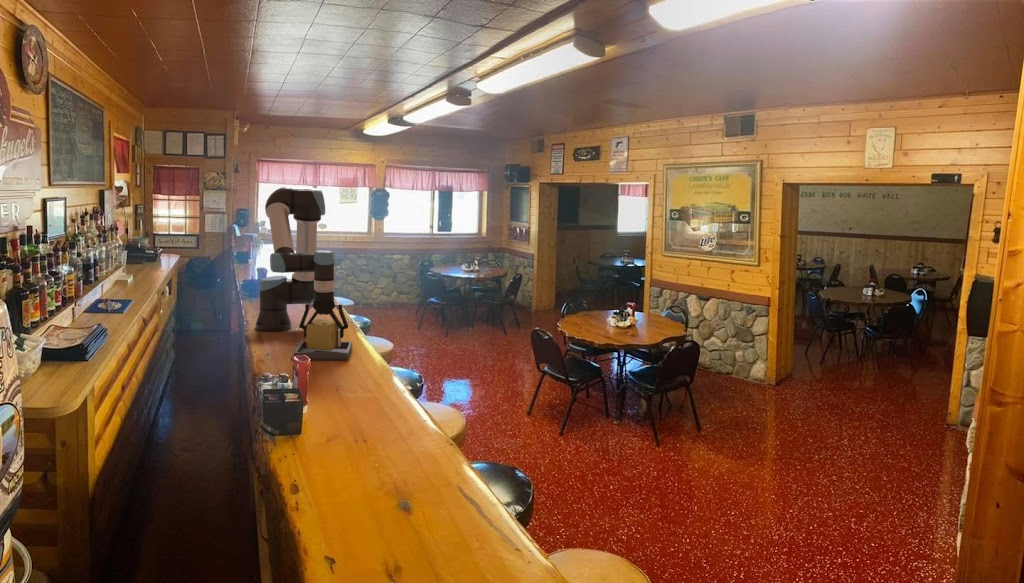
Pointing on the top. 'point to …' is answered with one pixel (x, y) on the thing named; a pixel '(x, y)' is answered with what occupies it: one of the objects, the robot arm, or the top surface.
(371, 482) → the top surface
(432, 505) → the top surface
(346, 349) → the tray
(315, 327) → the cheese
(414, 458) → the top surface
